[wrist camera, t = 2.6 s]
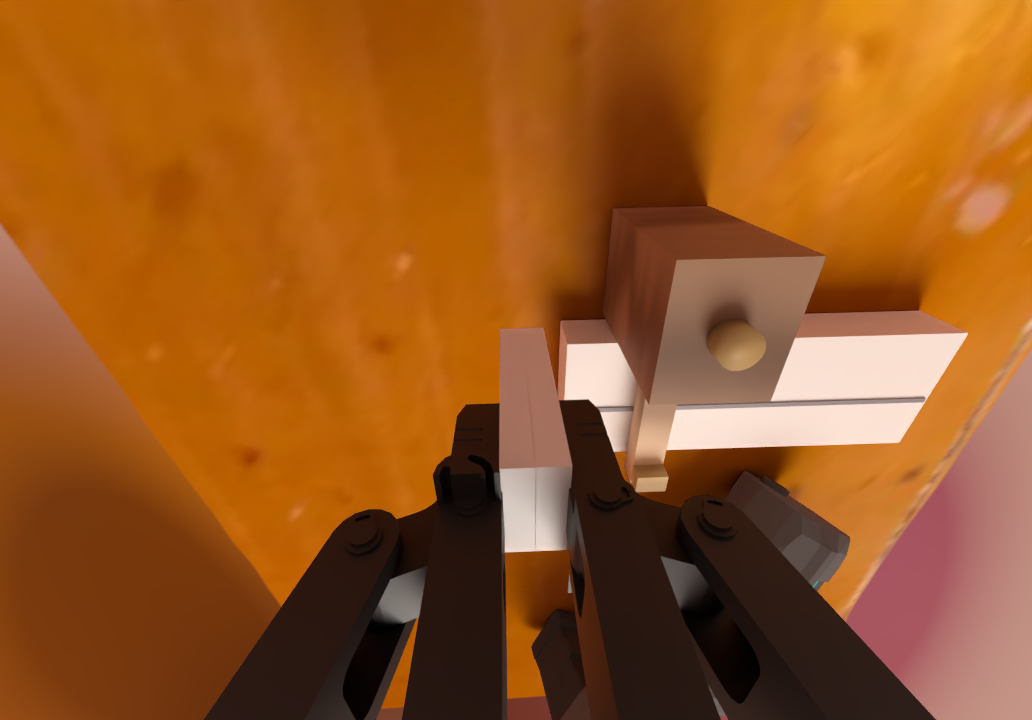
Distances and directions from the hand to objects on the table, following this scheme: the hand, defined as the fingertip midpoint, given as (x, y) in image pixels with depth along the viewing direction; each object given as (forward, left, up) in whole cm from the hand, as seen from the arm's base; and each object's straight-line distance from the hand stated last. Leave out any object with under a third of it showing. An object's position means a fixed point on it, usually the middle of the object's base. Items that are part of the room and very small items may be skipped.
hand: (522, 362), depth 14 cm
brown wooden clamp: (+4, +8, -10) cm, 13 cm away
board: (+7, +14, -10) cm, 18 cm away
